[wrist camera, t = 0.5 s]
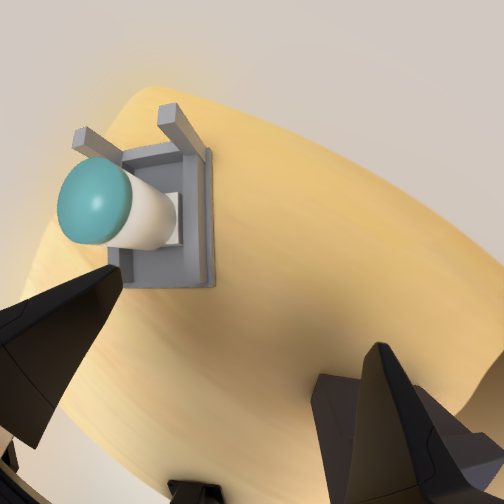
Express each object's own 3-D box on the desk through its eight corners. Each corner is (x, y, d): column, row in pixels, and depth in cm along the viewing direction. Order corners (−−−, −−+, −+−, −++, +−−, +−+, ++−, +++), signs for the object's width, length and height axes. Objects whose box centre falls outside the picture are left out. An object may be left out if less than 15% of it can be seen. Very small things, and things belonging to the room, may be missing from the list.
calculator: (307, 407, 23) (326, 531, 8) (321, 366, 23) (364, 480, 8) (406, 416, 22) (475, 504, 7) (422, 379, 22) (511, 455, 7)
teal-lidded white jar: (187, 250, 23) (122, 240, 13) (135, 253, 24) (54, 246, 13) (187, 193, 23) (126, 149, 13) (136, 200, 24) (60, 166, 13)
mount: (215, 285, 24) (179, 298, 15) (125, 287, 25) (62, 295, 16) (212, 151, 24) (180, 101, 15) (126, 165, 25) (72, 131, 16)
